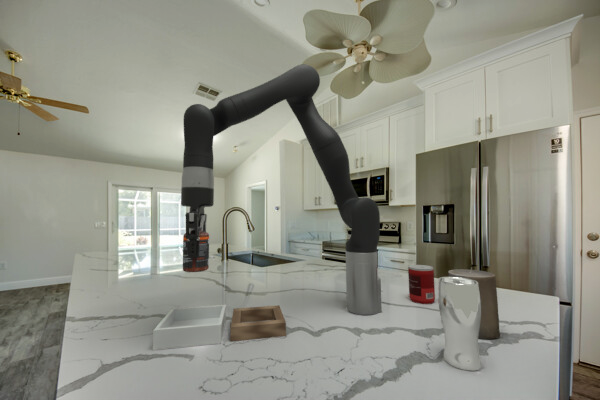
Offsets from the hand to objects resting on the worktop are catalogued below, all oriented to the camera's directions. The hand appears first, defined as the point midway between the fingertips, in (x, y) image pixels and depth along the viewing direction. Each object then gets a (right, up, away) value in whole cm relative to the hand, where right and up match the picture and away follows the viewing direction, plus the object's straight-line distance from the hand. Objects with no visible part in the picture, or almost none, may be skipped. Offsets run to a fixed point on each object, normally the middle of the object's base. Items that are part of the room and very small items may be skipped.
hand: (196, 255), depth 63 cm
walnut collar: (+15, -18, +2) cm, 24 cm away
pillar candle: (+67, -18, -1) cm, 70 cm away
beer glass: (+56, -17, -14) cm, 60 cm away
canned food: (+66, -20, +22) cm, 72 cm away
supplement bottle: (0, -4, 0) cm, 4 cm away
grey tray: (0, -18, -1) cm, 18 cm away
